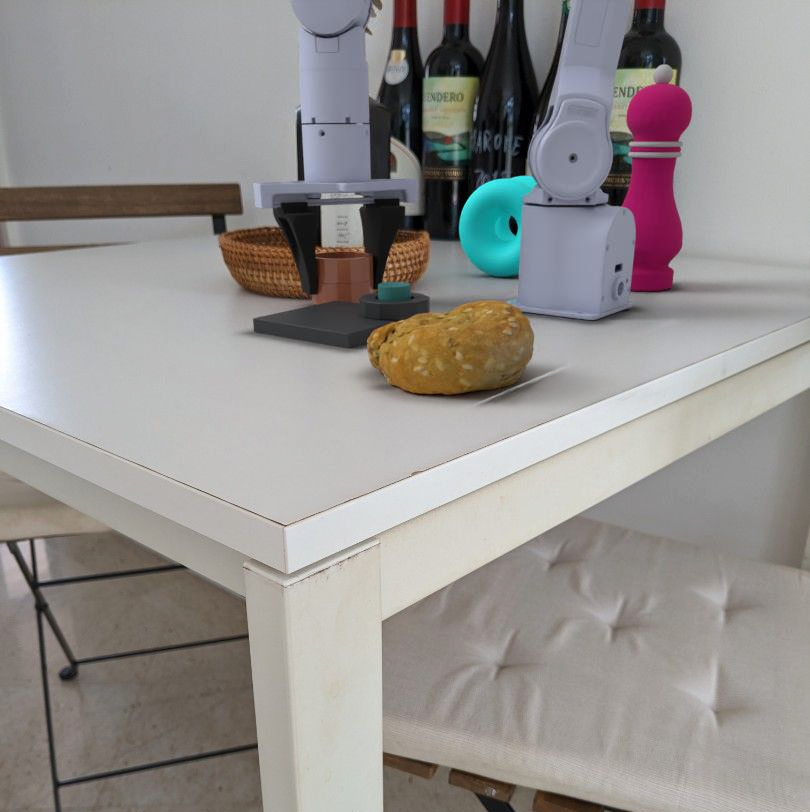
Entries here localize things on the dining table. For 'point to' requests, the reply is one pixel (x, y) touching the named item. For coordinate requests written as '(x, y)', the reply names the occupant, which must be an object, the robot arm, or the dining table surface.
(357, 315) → the scale
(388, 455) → the dining table surface
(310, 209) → the robot arm
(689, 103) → the pepper mill
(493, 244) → the donuts
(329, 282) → the cup
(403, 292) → the button
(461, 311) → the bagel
